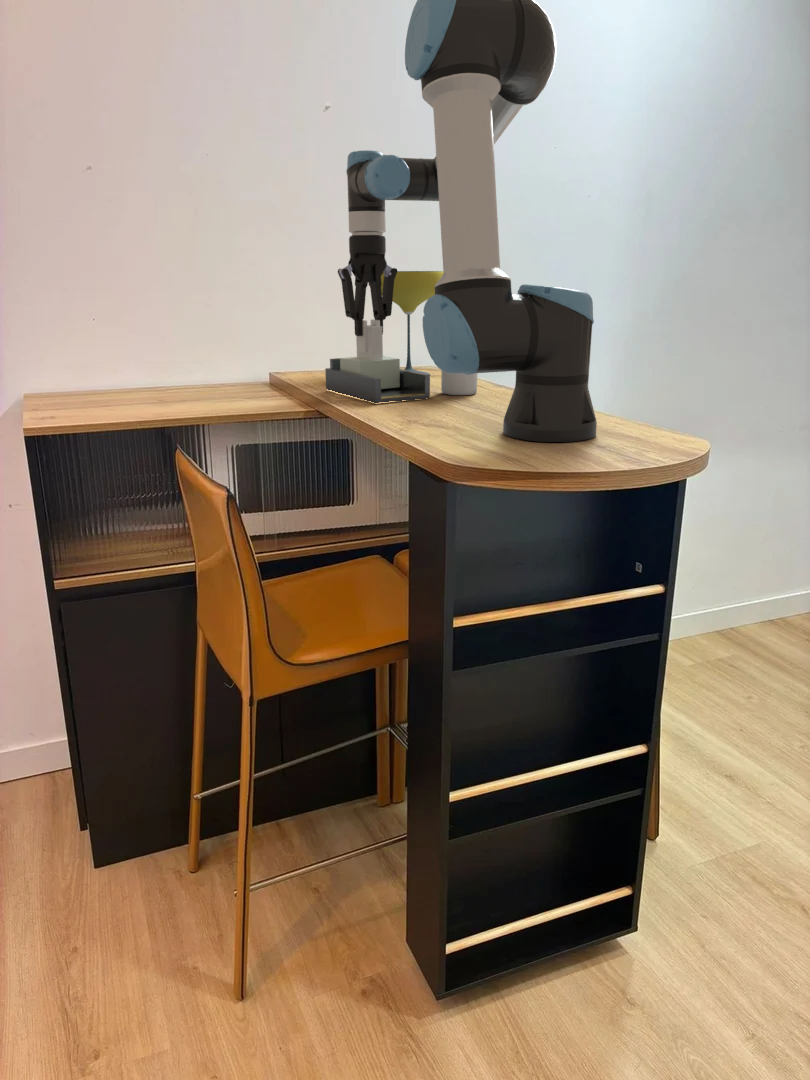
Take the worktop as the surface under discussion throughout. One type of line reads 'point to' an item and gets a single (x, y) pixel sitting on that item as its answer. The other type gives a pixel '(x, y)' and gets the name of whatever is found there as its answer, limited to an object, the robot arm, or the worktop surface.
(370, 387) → the bay
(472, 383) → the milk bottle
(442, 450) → the worktop surface
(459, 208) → the robot arm
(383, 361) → the block with upright handle
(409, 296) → the cocktail glass
